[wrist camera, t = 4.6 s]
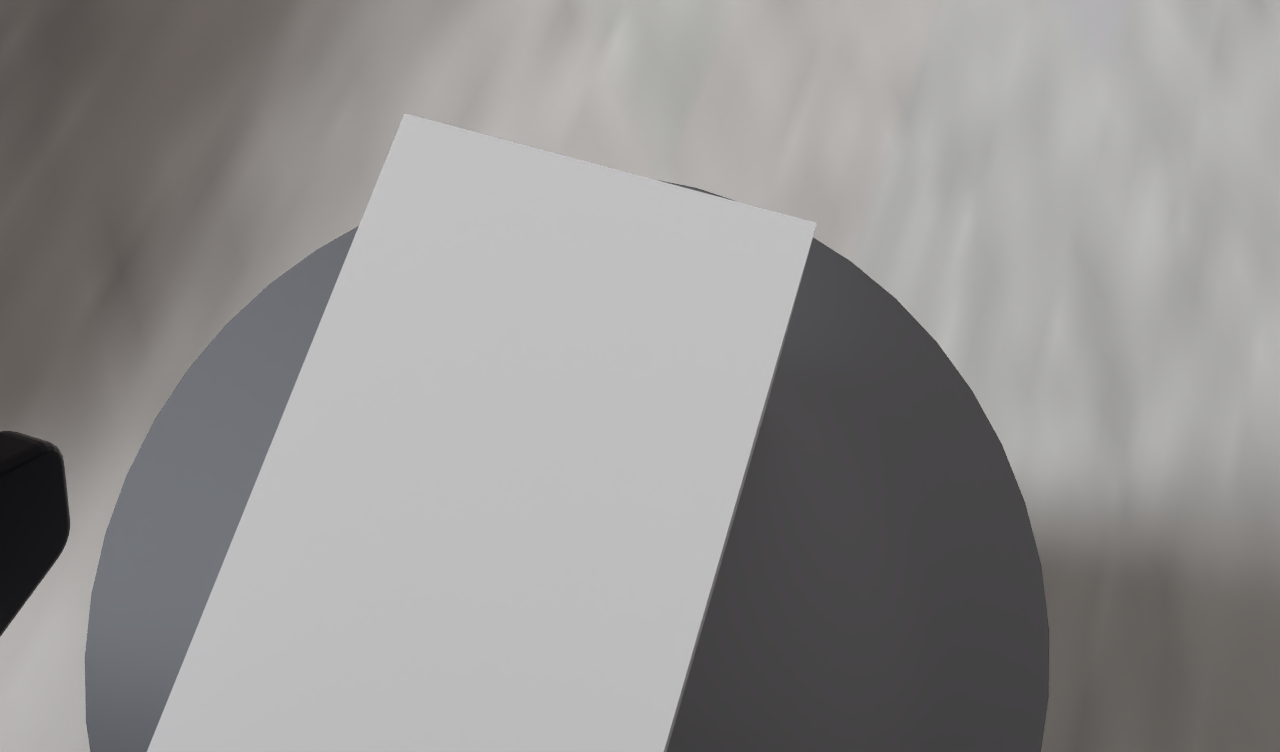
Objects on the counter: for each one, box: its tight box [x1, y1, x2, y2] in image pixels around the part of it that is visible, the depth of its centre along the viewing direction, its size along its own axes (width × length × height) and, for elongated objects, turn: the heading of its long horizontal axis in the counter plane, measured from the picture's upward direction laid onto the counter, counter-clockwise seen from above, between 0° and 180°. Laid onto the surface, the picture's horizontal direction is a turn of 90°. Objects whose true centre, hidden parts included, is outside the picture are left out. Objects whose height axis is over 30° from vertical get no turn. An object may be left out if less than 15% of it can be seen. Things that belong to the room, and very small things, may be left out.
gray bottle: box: [85, 113, 1049, 752], centre depth 10 cm, size 5×5×13 cm
